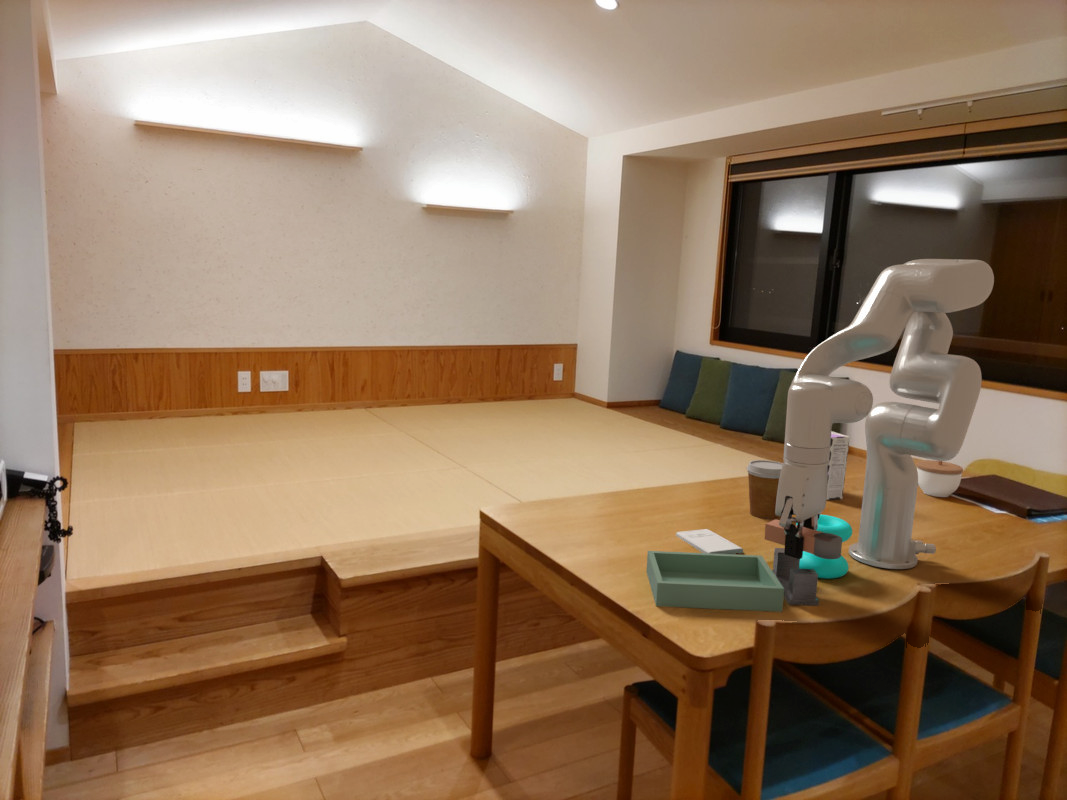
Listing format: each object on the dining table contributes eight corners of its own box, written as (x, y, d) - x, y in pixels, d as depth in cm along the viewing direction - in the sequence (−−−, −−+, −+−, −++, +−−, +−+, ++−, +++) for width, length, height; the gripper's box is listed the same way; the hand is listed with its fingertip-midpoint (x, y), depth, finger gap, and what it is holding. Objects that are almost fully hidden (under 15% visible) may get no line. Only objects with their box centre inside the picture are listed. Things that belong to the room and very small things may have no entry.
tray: (759, 576, 145) (761, 555, 144) (782, 611, 130) (784, 588, 130) (646, 571, 146) (647, 550, 145) (656, 606, 131) (657, 582, 130)
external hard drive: (708, 560, 154) (675, 538, 166) (742, 555, 157) (708, 535, 169) (708, 552, 154) (675, 531, 166) (743, 548, 157) (708, 527, 168)
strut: (762, 540, 142) (763, 524, 141) (776, 534, 145) (777, 518, 144) (833, 561, 132) (834, 544, 131) (845, 554, 135) (847, 537, 134)
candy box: (791, 485, 209) (796, 425, 206) (809, 484, 210) (815, 424, 207) (824, 500, 196) (830, 436, 193) (844, 499, 197) (850, 435, 195)
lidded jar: (917, 497, 201) (921, 461, 200) (910, 486, 211) (914, 452, 210) (963, 501, 198) (968, 466, 197) (954, 490, 208) (958, 456, 207)
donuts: (862, 521, 148) (838, 533, 141) (856, 571, 149) (833, 585, 142) (811, 509, 154) (787, 519, 148) (807, 557, 156) (782, 569, 149)
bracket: (769, 575, 146) (771, 547, 145) (796, 576, 146) (798, 548, 145) (789, 604, 133) (791, 574, 132) (818, 606, 133) (821, 575, 132)
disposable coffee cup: (780, 509, 187) (784, 460, 185) (789, 522, 178) (793, 470, 176) (739, 506, 188) (743, 458, 186) (746, 519, 179) (750, 468, 177)
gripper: (809, 442, 144) (803, 536, 147) (761, 457, 133) (755, 559, 136) (849, 449, 138) (841, 547, 142) (802, 466, 127) (795, 572, 131)
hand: (799, 552), depth 139 cm, fingers closed on strut, 3 cm apart
